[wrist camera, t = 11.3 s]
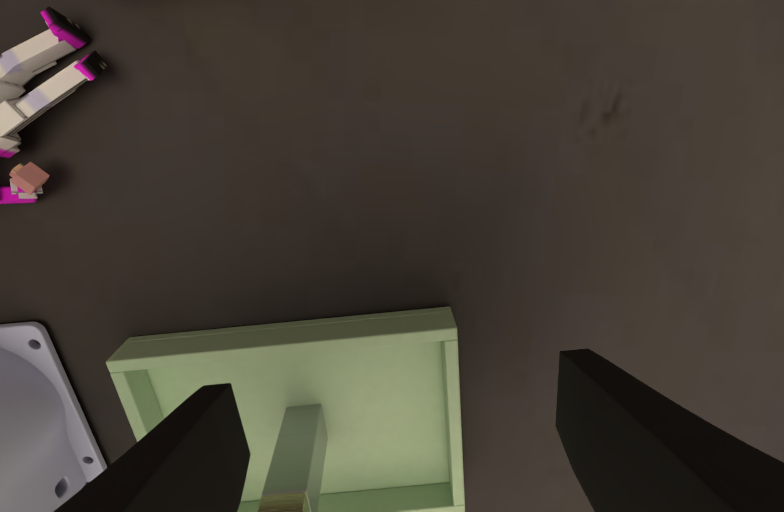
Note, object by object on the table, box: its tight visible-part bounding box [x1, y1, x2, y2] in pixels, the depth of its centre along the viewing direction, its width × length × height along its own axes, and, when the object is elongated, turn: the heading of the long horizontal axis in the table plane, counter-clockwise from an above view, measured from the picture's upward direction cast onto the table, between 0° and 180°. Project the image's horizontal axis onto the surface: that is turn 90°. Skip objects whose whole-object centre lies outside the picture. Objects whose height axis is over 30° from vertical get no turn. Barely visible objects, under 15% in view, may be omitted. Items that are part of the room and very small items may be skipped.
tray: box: [106, 307, 465, 512], centre depth 22 cm, size 11×15×2 cm
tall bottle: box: [257, 405, 328, 512], centre depth 18 cm, size 2×2×10 cm
